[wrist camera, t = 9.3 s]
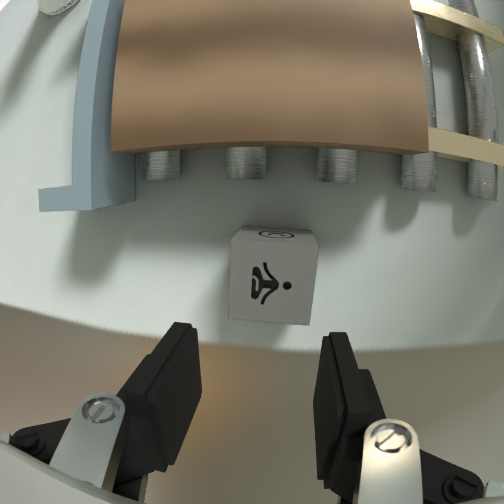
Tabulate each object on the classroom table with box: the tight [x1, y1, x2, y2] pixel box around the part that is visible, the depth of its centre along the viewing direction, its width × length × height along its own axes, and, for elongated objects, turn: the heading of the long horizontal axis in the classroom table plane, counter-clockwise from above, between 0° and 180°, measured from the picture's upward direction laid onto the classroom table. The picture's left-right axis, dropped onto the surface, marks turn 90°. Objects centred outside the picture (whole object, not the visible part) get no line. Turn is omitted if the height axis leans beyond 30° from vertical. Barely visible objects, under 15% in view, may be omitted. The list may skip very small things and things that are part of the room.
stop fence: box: [39, 0, 135, 212], centre depth 18 cm, size 21×5×6 cm, turn 179°
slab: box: [111, 0, 429, 155], centre depth 15 cm, size 14×18×3 cm
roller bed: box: [143, 0, 504, 201], centre depth 17 cm, size 18×30×3 cm, turn 89°
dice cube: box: [228, 226, 319, 326], centre depth 20 cm, size 5×5×5 cm
